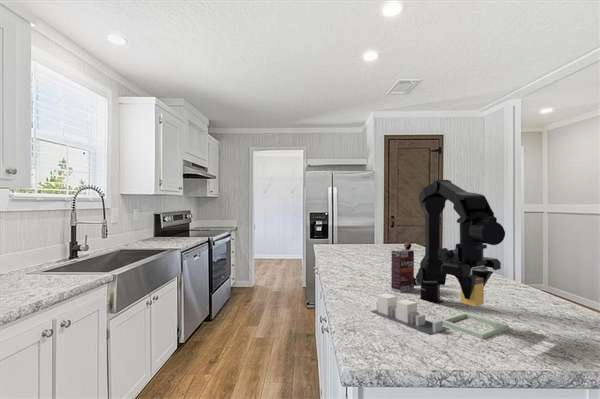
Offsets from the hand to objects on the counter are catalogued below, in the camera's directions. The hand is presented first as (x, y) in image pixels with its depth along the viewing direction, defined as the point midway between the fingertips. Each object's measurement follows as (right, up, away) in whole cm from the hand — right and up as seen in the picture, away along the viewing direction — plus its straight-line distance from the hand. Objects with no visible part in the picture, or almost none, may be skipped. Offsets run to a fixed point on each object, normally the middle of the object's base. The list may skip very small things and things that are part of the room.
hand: (471, 297), depth 90 cm
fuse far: (-20, -8, +12) cm, 24 cm away
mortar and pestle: (0, -10, +54) cm, 55 cm away
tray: (0, -9, 0) cm, 9 cm away
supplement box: (-5, -10, +43) cm, 45 cm away
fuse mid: (-16, -8, +5) cm, 19 cm away
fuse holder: (-16, -9, +5) cm, 19 cm away
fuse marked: (0, -2, 0) cm, 2 cm away
